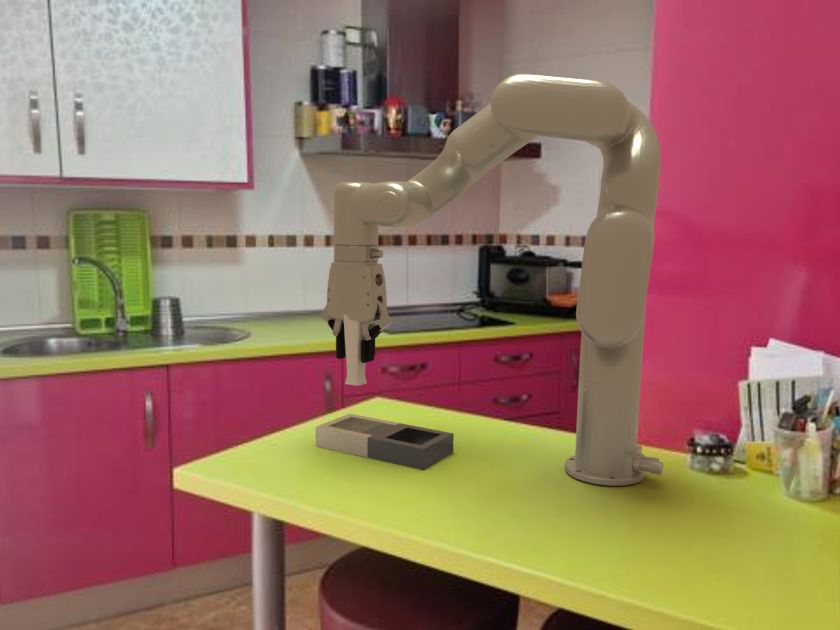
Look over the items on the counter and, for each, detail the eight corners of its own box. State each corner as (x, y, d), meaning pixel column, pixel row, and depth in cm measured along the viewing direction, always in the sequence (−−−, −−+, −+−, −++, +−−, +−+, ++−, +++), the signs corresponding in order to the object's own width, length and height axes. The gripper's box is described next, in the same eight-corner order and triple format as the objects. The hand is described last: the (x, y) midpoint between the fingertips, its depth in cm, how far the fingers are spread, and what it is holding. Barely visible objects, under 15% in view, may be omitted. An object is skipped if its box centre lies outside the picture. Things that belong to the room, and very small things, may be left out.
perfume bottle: (354, 378, 139) (355, 295, 136) (372, 382, 136) (373, 298, 133) (336, 382, 135) (336, 297, 133) (354, 387, 132) (355, 300, 130)
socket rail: (453, 453, 133) (453, 433, 132) (423, 470, 124) (423, 449, 124) (349, 431, 144) (349, 413, 143) (315, 446, 135) (315, 426, 135)
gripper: (409, 256, 131) (407, 362, 134) (329, 251, 139) (329, 350, 142) (385, 259, 124) (383, 370, 127) (303, 253, 133) (303, 357, 136)
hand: (355, 358), depth 135 cm, fingers closed on perfume bottle, 4 cm apart
